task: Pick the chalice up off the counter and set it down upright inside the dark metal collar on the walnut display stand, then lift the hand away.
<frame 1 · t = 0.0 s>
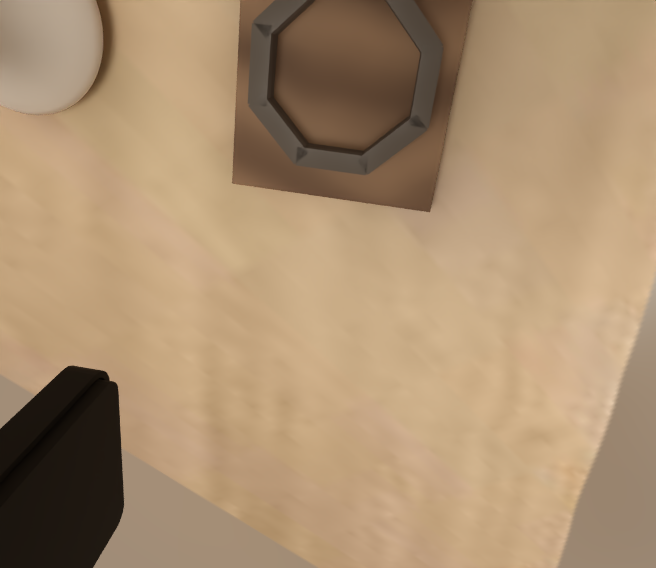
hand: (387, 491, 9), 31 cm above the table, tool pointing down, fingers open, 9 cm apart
flower in vase: (47, 35, 37), on the table
display stand: (346, 74, 35), on the table
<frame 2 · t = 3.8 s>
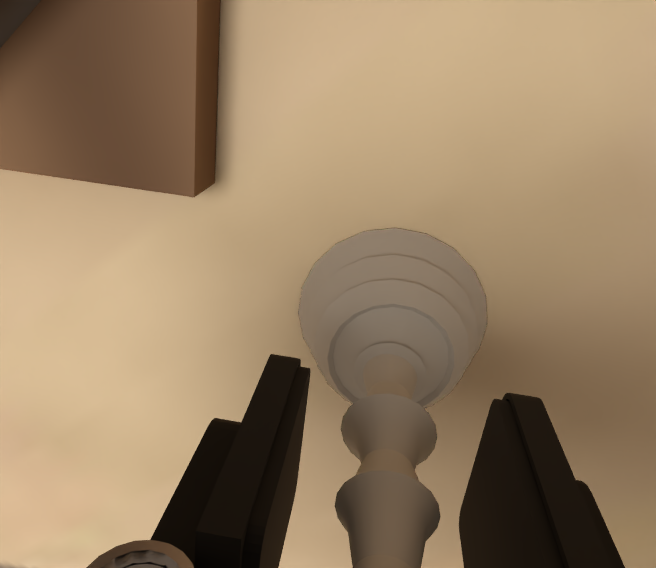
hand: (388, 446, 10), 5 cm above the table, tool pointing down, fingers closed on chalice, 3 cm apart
chalice: (391, 314, 15), on the table, touching gripper
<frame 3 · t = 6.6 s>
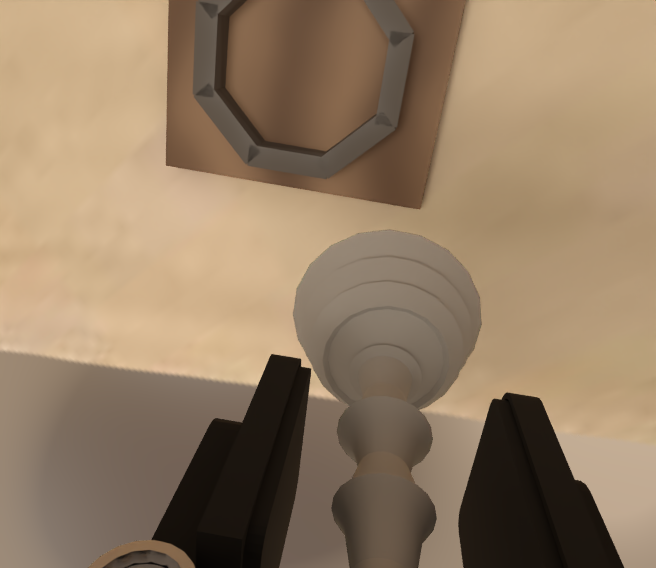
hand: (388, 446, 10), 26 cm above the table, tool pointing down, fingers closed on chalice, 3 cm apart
chalice: (385, 316, 15), point 20 cm above the table, touching gripper
display stand: (309, 64, 31), on the table
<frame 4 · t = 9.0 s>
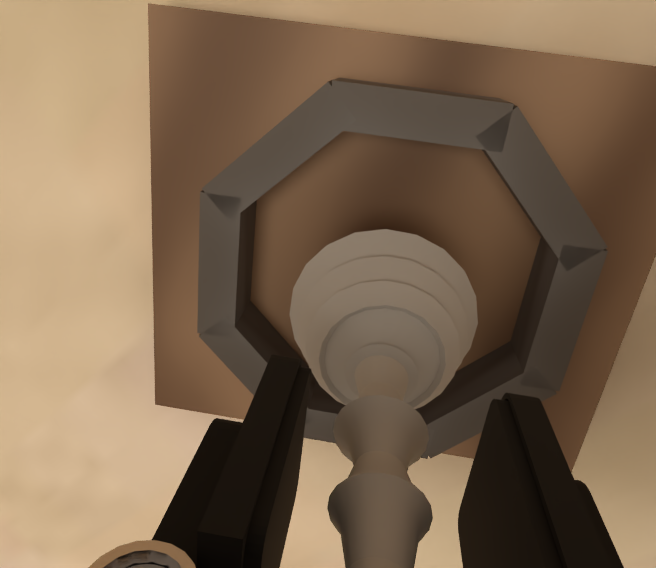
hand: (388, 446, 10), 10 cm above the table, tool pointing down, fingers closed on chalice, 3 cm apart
chalice: (382, 315, 15), point 5 cm above the table, touching gripper
display stand: (387, 255, 19), on the table
when the fingers open (8 cm above the table, at t = 9.7 s): chalice drops 1 cm, resting on display stand.
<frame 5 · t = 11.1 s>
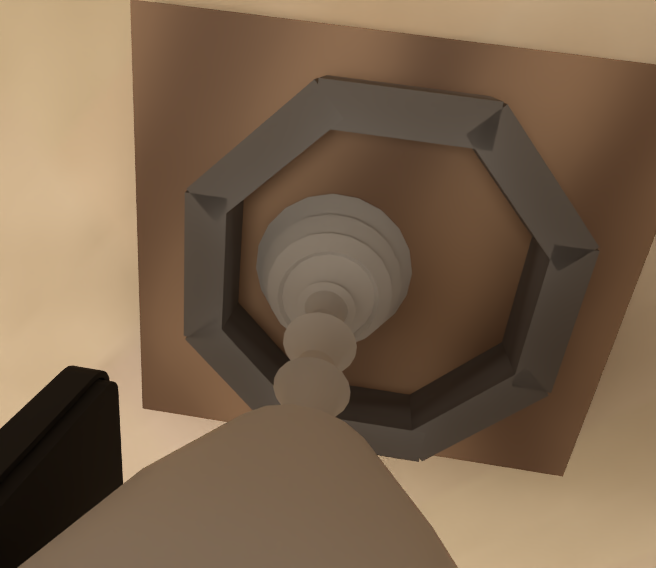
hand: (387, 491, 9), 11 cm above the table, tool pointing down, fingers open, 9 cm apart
chalice: (333, 268, 18), point 1 cm above the table, touching display stand, gripper
display stand: (377, 255, 19), on the table
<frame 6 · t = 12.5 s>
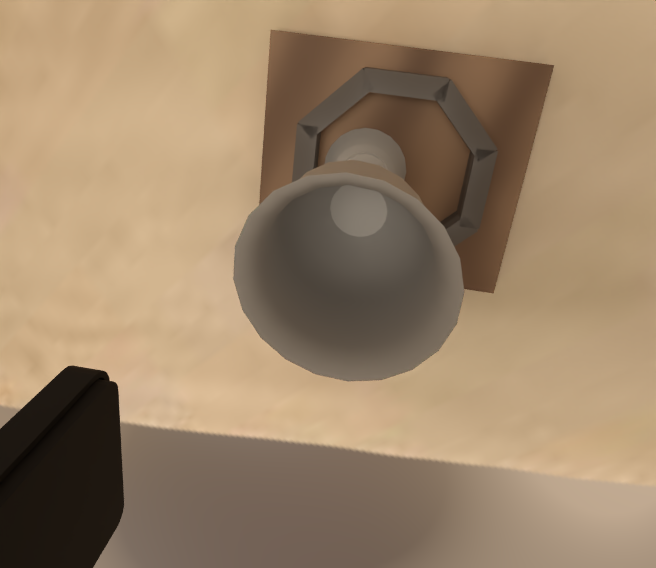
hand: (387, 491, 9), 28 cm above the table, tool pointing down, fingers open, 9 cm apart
chalice: (364, 169, 33), point 1 cm above the table, touching display stand
display stand: (390, 166, 34), on the table
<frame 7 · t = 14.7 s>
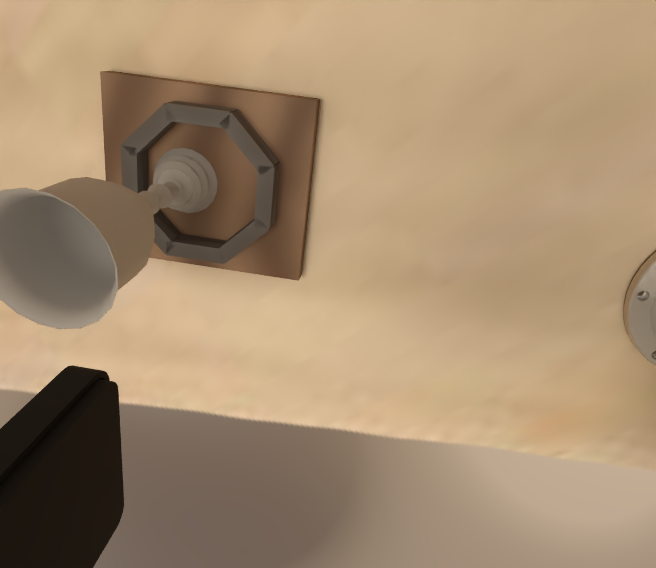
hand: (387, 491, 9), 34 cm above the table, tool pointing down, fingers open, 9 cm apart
chalice: (186, 180, 41), point 1 cm above the table, touching display stand
display stand: (211, 177, 43), on the table
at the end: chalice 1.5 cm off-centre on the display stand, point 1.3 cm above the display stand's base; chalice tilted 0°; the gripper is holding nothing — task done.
